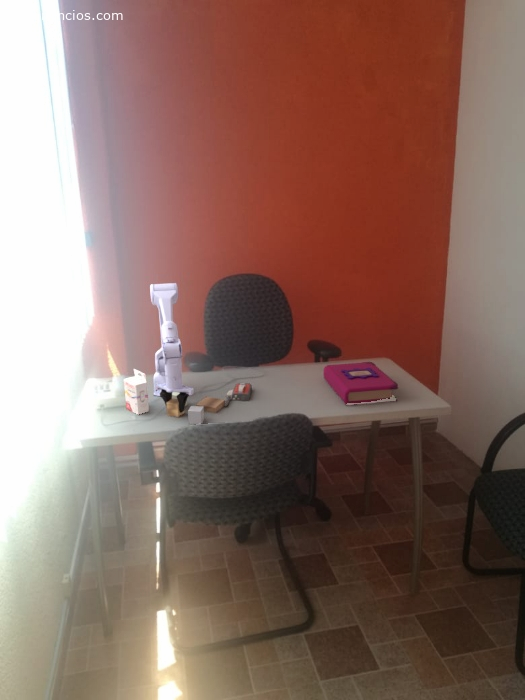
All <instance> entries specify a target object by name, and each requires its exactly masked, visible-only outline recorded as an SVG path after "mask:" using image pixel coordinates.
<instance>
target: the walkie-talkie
mask: <svg viewBox="0 0 525 700" xmlns="http://www.w3.org/2000/svg"><path fill="white" fill-rule="evenodd" d="M252 386H253V385H252V384H251V383H248V382H238V383H236V384H235V385H234V388H233V389H230V390H228V392H227V393H226V395H225V397H226V399H225V406H224V407H227V406H228V404H229V402H230V401H231V400H232V401H242V402H245V401H249V400H250V397H251V393H252V390H253V389H252V388H253V387H252Z"/></svg>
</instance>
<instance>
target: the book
mask: <svg viewBox="0 0 525 700" xmlns="http://www.w3.org/2000/svg"><path fill="white" fill-rule="evenodd" d="M323 379H324V380H325V382H326V383H327V384H328V385H329V386H330V388H332V390H333V391H334V392H335V393H336V394H337V395H339V396H338V397H339V398H340V400H342V402H343V401H344V402H343V403H344V405H346V404H347V403H361V402H371V401H377V400H380V399H381V400H382V399H386V398H388V399H390V397H392V394H393V393H392V391H393V390H397V389H399V388H398V387H399V384H398V383H397V382H396V381H394V380H393V379H392V378H391V377H389V376H388V375H387V374H386V373H385V372H384V371H382V369H380V368H379V367H378V366H377V365H376V364H375V362H372V361H362V362H353V363H352V362H351V363H338V364H337V363H335V364H327V365H325V367H324V368H323Z"/></svg>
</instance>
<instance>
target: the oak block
mask: <svg viewBox="0 0 525 700" xmlns="http://www.w3.org/2000/svg"><path fill="white" fill-rule="evenodd" d="M166 404H167V407H166V415H168V416H167V417H173V416H175V417H174V418H180V417H181V416H182V415H184V414H185V410H184V411H183V412H182V413H180V411H179V403H178V399H175V398H172V399H171V400H170V401H168V402H167V403H166ZM180 415H181V416H180Z"/></svg>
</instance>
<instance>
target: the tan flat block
mask: <svg viewBox="0 0 525 700" xmlns="http://www.w3.org/2000/svg"><path fill="white" fill-rule="evenodd" d="M225 403H226V399H222V398H217V397H210V396H205V397H204V398H203V399H201V400H200V401H199V402H198V403H196V404H195V406H204V412H206V413H212V414H213V413H214V414H216V413H218V412H219V411H220V410H221V409H223V408H224V407H226V406H225Z"/></svg>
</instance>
